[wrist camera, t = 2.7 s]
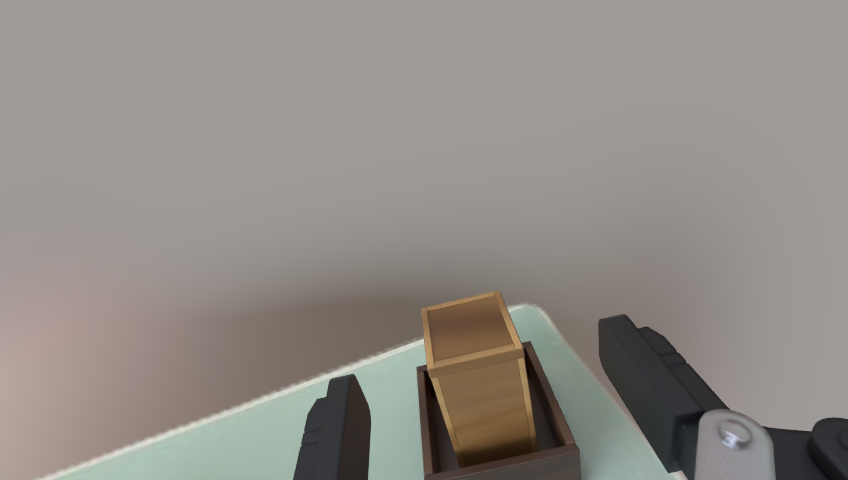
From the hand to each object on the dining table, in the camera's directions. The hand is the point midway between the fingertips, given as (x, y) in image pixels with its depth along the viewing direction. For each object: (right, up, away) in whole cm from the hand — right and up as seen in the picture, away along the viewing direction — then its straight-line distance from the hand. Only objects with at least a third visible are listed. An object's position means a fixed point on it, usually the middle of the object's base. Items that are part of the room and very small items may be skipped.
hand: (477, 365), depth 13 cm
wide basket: (+4, -11, +18) cm, 21 cm away
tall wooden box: (+4, -11, +18) cm, 21 cm away
